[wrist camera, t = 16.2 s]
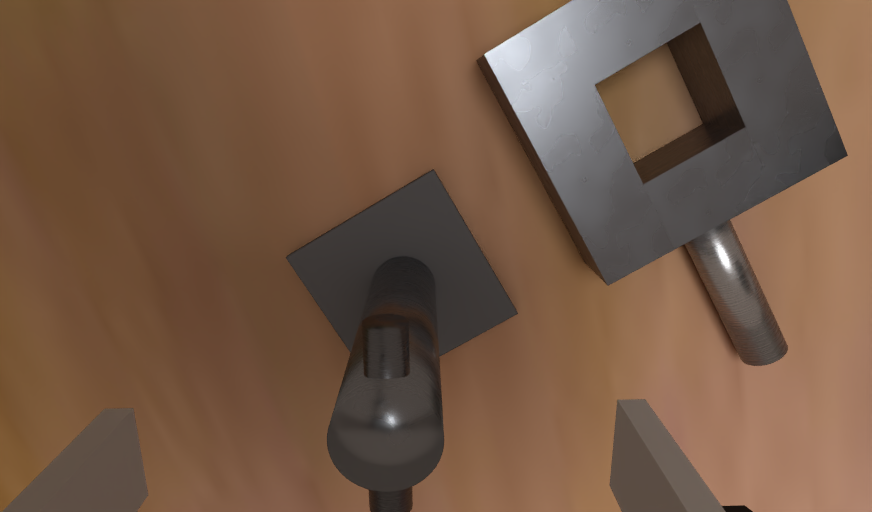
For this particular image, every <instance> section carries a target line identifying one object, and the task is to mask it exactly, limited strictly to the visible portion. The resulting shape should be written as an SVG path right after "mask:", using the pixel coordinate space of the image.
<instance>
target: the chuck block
mask: <svg viewBox="0 0 872 512" xmlns="http://www.w3.org/2000/svg"><path fill="white" fill-rule="evenodd" d="M666 42H667V44H668V46H669V48H670V50H671V52H672V55H673V57H674V59H675V61H676V63H677V66H678V68H679V70H680V72H681V75H682V77H683V79H684V81H685V83H686V86H687V88H688V90H689V92H690V95H691V97H692V99H693V101H694V103H695V106H696V108H697V110H698V112H699V114H700V117H701V119H702V121H703V123H704V124H702V125H700V126H699V127H697V128H695V129H693V130H692V131H690V132H688V133H686V134H685V135H683V136H681V137H679V138H678V139H676V140H674V141H672V142H670V143H669V144H667V145H665V146H663V147H662V148H660V149H658V150H656V151H655V152H653V153H651V154H649V155H648V156H646V157H644V158H642V159H641V160H639V161H637V162H635V163H633V162H632V160H631V158H630V156H629V154H628V152H627V150H626V148H625V146H624V144H623V142H622V140H621V138H620V136H619V134H618V132H617V130H616V128H615V126H614V124H613V122H612V120H611V118H610V116H609V114H608V112H607V109H606V107H605V105H604V103H603V101H602V99H601V97H600V95H599V93H598V91H597V89H596V87H595V84H597V83H599V82H600V81H602V80H604V79H605V78H607V77H609V76H610V75H612V74H614V73H616V72H617V71H619V70H621V69H622V68H624V67H626V66H627V65H629V64H631V63H633V62H634V61H636V60H638V59H639V58H641V57H643V56H644V55H646V54H648V53H649V52H651V51H653V50H655V49H656V48H658V47H660V46H661V45H663V44H665V43H666ZM477 63H478V65H479V67H480V69H481V70H482V72H483V74H484V76H485V78H486V80H487V82H488V83H489V85H490V87H491V89H492V91H493V93H494V95H495V96H496V98H497V100H498V102H499V104H500V106H501V108H502V109H503V111H504V113H505V115H506V117H507V119H508V120H509V122H510V124H511V126H512V128H513V130H514V132H515V133H516V135H517V137H518V139H519V141H520V143H521V145H522V146H523V148H524V150H525V152H526V154H527V156H528V158H529V159H530V161H531V163H532V165H533V167H534V169H535V171H536V172H537V174H538V176H539V178H540V180H541V182H542V184H543V185H544V187H545V189H546V191H547V193H548V195H549V197H550V198H551V200H552V202H553V204H554V206H555V208H556V210H557V211H558V213H559V215H560V217H561V219H562V221H563V223H564V224H565V226H566V228H567V230H568V232H569V234H570V236H571V237H572V239H573V241H574V243H575V245H576V247H577V249H578V250H579V252H580V254H581V256H582V258H583V260H584V262H585V263H586V264H587V265H588V266H589V267H590V268H591V269H592V270H593V271H594V272H595V273H596V274H597V275H598V276H599V277H600V278H601V279H602V280H603V281H604V282H605V283H606V284H607V285H610V284H612V283H614V282H615V281H617V280H619V279H621V278H623V277H625V276H627V275H628V274H630V273H632V272H634V271H636V270H638V269H639V268H641V267H643V266H645V265H647V264H649V263H650V262H652V261H654V260H656V259H658V258H660V257H662V256H663V255H665V254H667V253H669V252H671V251H673V250H674V249H676V248H678V247H680V246H682V245H684V244H685V246H686V248H687V250H688V252H689V254H690V256H691V258H692V260H693V262H694V264H695V266H696V268H697V270H698V272H699V274H700V276H701V279H702V281H703V283H704V285H705V287H706V289H707V291H708V293H709V295H710V297H711V299H712V301H713V303H714V305H715V307H716V309H717V311H718V313H719V316H720V318H721V320H722V322H723V324H724V326H725V328H726V330H727V332H728V334H729V336H730V338H731V340H732V342H733V344H734V346H735V348H736V351H737V353H738V355H739V357H740V359H741V360H742V361H743V362H744V363H745V364H748V365H752V366H762V365H767V364H771V363H774V362H776V361H778V360H779V359H781V358H782V357H783V356H784V355H785V354H786V353H787V350H788V345H787V343H786V341H785V339H784V336H783V334H782V332H781V330H780V328H779V326H778V323H777V321H776V319H775V317H774V315H773V313H772V310H771V308H770V306H769V304H768V302H767V299H766V297H765V295H764V293H763V291H762V289H761V286H760V284H759V282H758V280H757V278H756V275H755V273H754V271H753V269H752V267H751V265H750V262H749V260H748V258H747V256H746V254H745V252H744V249H743V247H742V245H741V243H740V241H739V238H738V236H737V234H736V232H735V230H734V228H733V225H732V223H731V221H730V219H732V218H733V217H735V216H737V215H739V214H741V213H743V212H744V211H746V210H748V209H750V208H752V207H754V206H756V205H757V204H759V203H761V202H763V201H765V200H767V199H768V198H770V197H772V196H774V195H776V194H778V193H779V192H781V191H783V190H785V189H787V188H789V187H791V186H792V185H794V184H796V183H798V182H800V181H802V180H803V179H805V178H807V177H809V176H811V175H813V174H815V173H816V172H818V171H820V170H822V169H824V168H826V167H827V166H829V165H831V164H833V163H835V162H837V161H838V160H840V159H842V158H844V157H846V156H848V155H847V152H846V150H845V147H844V145H843V142H842V139H841V137H840V134H839V132H838V129H837V127H836V124H835V122H834V119H833V116H832V114H831V111H830V109H829V106H828V104H827V101H826V99H825V96H824V93H823V91H822V88H821V86H820V83H819V81H818V78H817V75H816V73H815V70H814V68H813V65H812V63H811V60H810V58H809V55H808V52H807V50H806V47H805V45H804V42H803V40H802V37H801V35H800V32H799V29H798V27H797V24H796V22H795V19H794V17H793V14H792V12H791V9H790V6H789V4H788V1H787V0H572V1H571V2H569V3H567V4H566V5H564V6H562V7H561V8H559V9H557V10H556V11H554V12H553V13H551V14H549V15H548V16H546V17H544V18H543V19H541V20H539V21H538V22H536V23H535V24H533V25H531V26H530V27H528V28H526V29H525V30H523V31H522V32H520V33H518V34H517V35H515V36H513V37H512V38H510V39H508V40H507V41H505V42H504V43H502V44H500V45H499V46H497V47H495V48H494V49H492V50H490V51H489V52H487V53H486V54H484V55H483V56H482V57H480V58H479V59H478V60H477Z"/></svg>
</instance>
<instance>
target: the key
mask: <svg viewBox="0 0 872 512" xmlns="http://www.w3.org/2000/svg"><path fill="white" fill-rule="evenodd" d="M327 446H328V451H329V454H330V457H331V459H332V461H333V463H334V465H335V466H336V468H337V469H338V470H339V471H340V473H341V474H342V475H344V476H345V477H346V478H347V479H348V480H350V481H351V482H353V483H355V484H356V485H358V486H361V487H363V488H366V489H369V504H370V511H371V512H410V511H411V509H412V505H413V501H412V486H414V485H416V484H418V483H419V482H421V481H422V480H424V479H425V478H426V477H427V476H428V475H429V474H430V473H431V472H432V471H433V470H434V469H435V467H436V466H437V464H438V462H439V460H440V458H441V455H442V452H443V448H444V431H443V413H442V395H441V378H440V360H439V342H438V325H437V307H436V289H435V280H434V277H433V274H432V272H431V271H430V269H429V268H428V267H427V266H426V265H425V264H424V263H423V262H421V261H420V260H418V259H416V258H413V257H408V256H398V257H394V258H391V259H389V260H387V261H385V262H384V263H382V264H381V265H380V266H379V267H378V269H377V270H376V272H375V274H374V276H373V279H372V282H371V286H370V289H369V293H368V296H367V299H366V303H365V306H364V309H363V313H362V316H361V320H360V323H359V326H358V330H357V333H356V337H355V340H354V343H353V347H352V350H351V353H350V357H349V360H348V364H347V367H346V370H345V374H344V377H343V381H342V384H341V387H340V391H339V394H338V397H337V401H336V404H335V408H334V411H333V414H332V418H331V421H330V425H329V428H328V433H327Z"/></svg>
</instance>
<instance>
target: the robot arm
mask: <svg viewBox="0 0 872 512" xmlns="http://www.w3.org/2000/svg"><path fill="white" fill-rule="evenodd" d="M610 487H611V489H612V491H613V494H614V496H615V498H616V500H617V502H618V504H619V506H620V508H621V511H622V512H753V511H751V510H750V509H748V508H747V507H746V506H721V505H720V503H719V502H718V500H717V499H716V498H715V496H714V495H713V493H712V492H711V491H710V489H709V488H708V486H707V485H706V484H705V482H704V481H703V479H702V478H701V477H700V475H699V474H698V472H697V471H696V470H695V468H694V467H693V465H692V464H691V463H690V461H689V460H688V458H687V457H686V456H685V454H684V453H683V451H682V450H681V449H680V447H679V446H678V444H677V443H676V442H675V440H674V439H673V437H672V436H671V435H670V433H669V432H668V431H667V429H666V428H665V426H664V425H663V424H662V422H661V421H660V419H659V418H658V417H657V415H656V414H655V412H654V411H653V410H652V408H651V407H650V405H649V404H648V403H647V401H646V400H645V399H635V400H617V410H616V421H615V432H614V443H613V454H612V465H611V476H610ZM147 496H148V490H147V485H146V479H145V473H144V467H143V461H142V456H141V450H140V444H139V438H138V432H137V427H136V421H135V415H134V409H133V408H121V409H104V410H103V411H102V412H101V413H100V414H99V415H98V416H97V417H96V418H95V419H94V420H93V421H92V422H91V423H90V424H89V425H88V426H87V427H86V428H85V429H84V430H83V431H82V432H81V433H80V434H79V435H78V436H77V437H76V438H75V439H74V440H73V441H72V442H71V443H70V444H69V445H68V446H67V447H66V448H65V449H64V450H63V451H62V452H61V453H60V454H59V455H58V456H57V457H56V458H55V459H54V460H53V461H52V462H51V463H50V464H49V465H48V466H47V467H46V468H45V469H44V470H43V471H42V472H41V473H40V474H39V475H38V476H37V477H36V478H35V479H34V480H33V481H32V482H31V483H30V484H29V485H28V486H27V487H26V488H25V489H24V490H23V491H22V492H21V493H20V494H19V495H18V496H17V497H16V498H15V499H14V500H13V501H12V502H11V503H10V504H9V505H8V506H7V507H6V508H5V509H4V510H3V511H2V512H137V511H138V509H139V508H140V506H141V505H142V503H143V502H144V500H145V499H146V497H147Z"/></svg>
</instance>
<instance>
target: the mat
mask: <svg viewBox="0 0 872 512" xmlns="http://www.w3.org/2000/svg"><path fill="white" fill-rule="evenodd" d="M398 256H408V257H413V258H416V259H418V260H420V261H421V262H423V263H424V264H425V265H426V266H427V267H428V268H429V269H430V271H431V272H432V274H433V277H434V280H435V289H436V307H437V325H438V342H439V357H440V356H441V355H443V354H445V353H447V352H449V351H451V350H452V349H454V348H456V347H458V346H460V345H461V344H463V343H465V342H467V341H469V340H471V339H472V338H474V337H476V336H478V335H480V334H482V333H483V332H485V331H487V330H489V329H491V328H493V327H494V326H496V325H498V324H500V323H502V322H503V321H505V320H507V319H509V318H511V317H513V316H514V315H516V314H518V313H517V311H516V309H515V307H514V306H513V304H512V302H511V300H510V299H509V297H508V295H507V294H506V292H505V290H504V289H503V287H502V285H501V283H500V282H499V280H498V278H497V277H496V275H495V273H494V271H493V270H492V268H491V266H490V265H489V263H488V261H487V259H486V258H485V256H484V254H483V253H482V251H481V249H480V248H479V246H478V244H477V242H476V241H475V239H474V237H473V236H472V234H471V232H470V230H469V229H468V227H467V225H466V224H465V222H464V220H463V219H462V217H461V215H460V213H459V212H458V210H457V208H456V207H455V205H454V203H453V201H452V200H451V198H450V196H449V195H448V193H447V191H446V190H445V188H444V186H443V184H442V183H441V181H440V179H439V178H438V176H437V174H436V172H435V171H434V169H433V170H431V171H429V172H428V173H426V174H424V175H423V176H421V177H419V178H418V179H416V180H414V181H413V182H411V183H409V184H407V185H406V186H404V187H402V188H401V189H399V190H397V191H396V192H394V193H392V194H391V195H389V196H387V197H386V198H384V199H382V200H380V201H379V202H377V203H375V204H374V205H372V206H370V207H369V208H367V209H365V210H364V211H362V212H360V213H359V214H357V215H355V216H353V217H352V218H350V219H348V220H347V221H345V222H343V223H342V224H340V225H338V226H337V227H335V228H333V229H331V230H330V231H328V232H326V233H325V234H323V235H321V236H320V237H318V238H316V239H315V240H313V241H311V242H310V243H308V244H306V245H304V246H303V247H301V248H299V249H298V250H296V251H294V252H293V253H291V254H289V255H288V256H287V257H286V259H287V260H288V262H289V263H290V265H291V266H292V267H293V269H294V270H295V272H296V273H297V275H298V276H299V278H300V279H301V281H302V282H303V284H304V285H305V287H306V288H307V289H308V291H309V292H310V294H311V295H312V297H313V298H314V300H315V301H316V303H317V304H318V306H319V307H320V308H321V310H322V311H323V313H324V314H325V316H326V317H327V319H328V320H329V322H330V323H331V325H332V326H333V328H334V329H335V330H336V332H337V333H338V335H339V336H340V338H341V339H342V341H343V342H344V344H345V345H346V347H347V348H348V349H349V351H350V352H351V350H352V347H353V343H354V340H355V337H356V333H357V330H358V326H359V323H360V320H361V316H362V313H363V309H364V306H365V303H366V299H367V296H368V293H369V289H370V286H371V282H372V279H373V276H374V274H375V272H376V270H377V269H378V267H379V266H380V265H381V264H382V263H384V262H385V261H387V260H389V259H391V258H394V257H398Z"/></svg>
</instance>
